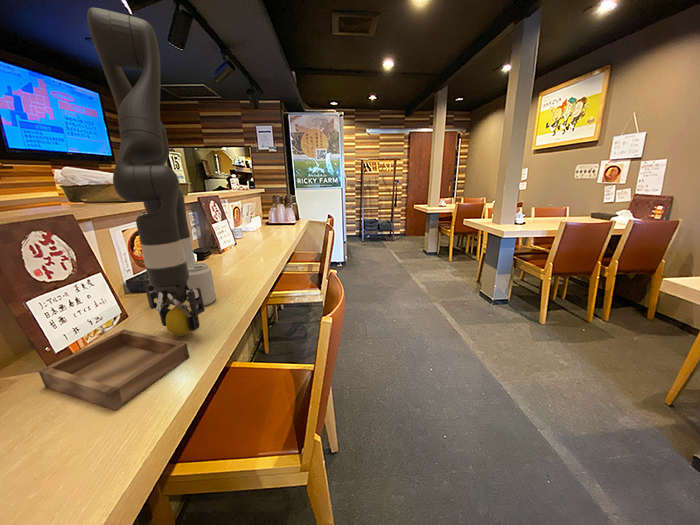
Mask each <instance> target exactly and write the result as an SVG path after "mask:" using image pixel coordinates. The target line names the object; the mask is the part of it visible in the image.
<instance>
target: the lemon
mask: <svg viewBox="0 0 700 525" xmlns="http://www.w3.org/2000/svg"><path fill="white" fill-rule="evenodd" d="M188 310H189V311H190V309H188ZM165 327H166V329H167V331H168V332H169V333H170V334H171V335H174V336H179V337H185V336H186V334H188V333H190V331H189V327H188V322H187V316H186V315H185V314H184V312H183V311H180V310H179V309H178V308H177V306H174V307H172V308H171V309H170V311H169V312H168V313H167V315H166V326H165Z"/></svg>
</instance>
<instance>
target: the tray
mask: <svg viewBox="0 0 700 525" xmlns="http://www.w3.org/2000/svg"><path fill="white" fill-rule="evenodd" d="M189 352H190V351H189V348H188V344H187V342H185V341H180V340H174V339H170V338H165V337H160V336H157V335H151V334H146V333H142V332H138V331H133V330H127V329H121V330H120V331H117V332H115V333H113V334H112V335H109V336H107V337H105V338H103V339H101V340H99V341H97V342H94V343H92V344H91V345H89V346H87V347H85V348H83V349H80V350H79V351H77V352H74V353H72V354H70V355H68V356H66V357H64V358H62V359H60V360H58V361H56V362H54V363H51V364H50V365H47V366H45V367H43V368H42V369H39V370H38V373H39V376H40V378H41V380H42V382H43V385H44V387H45V388H47V389H50V390H54V391H56V392H59V393H62V394H66V395H68V396H71V397H74V398H76V399H80V400H83V401H86V402H88V403H92V404H94V405H98V406H101V407H104V408H106V409H109V410H112V411H115V412H116V411H118V410H119V409H120V408H122V407H123V406H125V405H126V404H127V403H129V402H130V401H132V400H133V399H135V397H137V396H138V395H140V394H141V393H143V392H144V391H145V390H147V389H148V388H149V387H150V386H152V385H153V384H154V383H156V382H157V381H159V380H160V379H162V378H163V377H165V376H166V375H167V374H169V373H170V372H172V371H173V370H174V369H175V368H177V367H178V366H180V365H181V364H182V363H184V362H185V361H187V360H188V359H189V358H190V353H189Z"/></svg>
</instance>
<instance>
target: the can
mask: <svg viewBox="0 0 700 525" xmlns="http://www.w3.org/2000/svg"><path fill="white" fill-rule="evenodd" d="M187 267H188V272H189V279H188V281H187V285H188V287H189V289H195V288H200V290H201V294H202V299H203V304H204V307H206V306H209V305H211V304H212V303H214V301H215V300H216V299H217V296H216V291H215V290H216V289H215V285H214V280H213V279H214V278H213V274H212V268H211V267H210V266H209V265H208V263H206V262H196V263H194V264H189V265H187ZM205 305H206V306H205ZM196 307H197V308H198V305H197V306H196Z"/></svg>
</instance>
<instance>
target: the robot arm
mask: <svg viewBox="0 0 700 525" xmlns="http://www.w3.org/2000/svg"><path fill="white" fill-rule="evenodd" d="M86 14H87V15H86V16H87V23H88V24H87V25H88V29H89V33H90V36H91V39H92V43H93V45H94V47H95V51H96V54H97V56H98V60H99V62H100V64H101V66H102V70H103V72H104V75H105V77H106V81H107V84H108V86H109V89H110V91H111V94H112V97H113V100H114V104H115V107H116V112H117V120H118V129H119V130H118V131H119V138H120V145H119V151H118V157H117V159H116V163H115V166H114V169H113V174H112V182H113V187H114V190H115V192H116V194H117V195H118V196H119V197H120V198H121V199H123V200H124V201H126V202H130V203H143V206H144V208H145V212H146V213H145V214H141V215H139V216H137V217H136V220H135V222H136V224H135V225H136V229H137V232H138V236H139V237H138V238H139V240H140V244H141V253H142V257H143V258H142V259H143V262H144V266H145V271H146V273H147V279H148V281H149V284H147V285H145V286H144V289H145V293H146V296H147V301H148V306H149V308H150V309H151V310H154V309H155V311H156V312H157V313H159V317H160V321H161V324H162V326H163V327H166V315H167V313H168V312H169V311H170V310H171V309H170V307H171V305H172V306H174V307H175V306H177V308H178V309H179V310H180V311H183V312H184V314H185V315H186V316H187V322H188V327H189V332H195V331H196V330H198V329H199V328H200V325H201V324H200V319H199V315H200V314H201V313H203V312H205V311H206V309H205V306H204V304H203V299H202V294H201V290H200V288H195V289H189V287H188V285H187V281H188V279H189V272H188V267H187V265H189V264H194V263H197V262H196V257H195V253H194V248H193V244H192V238H191V233H190V229H189V224H188V223H189V222H188V217H187V209H186V203H185V198H184V194H183V192H182V190H181V189H180V180H179V177H178V175H177V173H176V172H175V171H174V170H173V169H172V168H171V167H170V166H167V165H165V164H166V163H167V161H168V158H169V156H170V146H169V142H168V141H169V140H168V136H167V130H166V128H165V126H164V124H163V122H162V121H161V55H160V50H159V49H160V48H159V45H158V44H159V42H158V38H157V36H156V33H155V30H154V28H153V26H152V25H151V24H150V23H149V22H148V20H147V21H146V20H145V19H142V18H139V17H136V16H132V15H129V14H124V13H120V12H116V11H112V10H108V9H104V8H99V7H93V6H92V7H90V8H88V10H87V12H86ZM123 68H128V69H132V70H138V71H141V74H140V77H139V78H138V80H137V82H136V83H135V84H134V86H132V85H131V83H130V81H129V80H128V78H127V77H126V74H125V72H124V71H123ZM155 299H156V301H155ZM186 301H187V303H185V302H186ZM197 305H198V307H196V306H197ZM188 308H190V309H189V310H188Z"/></svg>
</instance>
